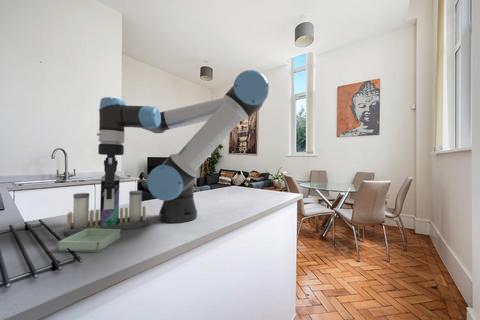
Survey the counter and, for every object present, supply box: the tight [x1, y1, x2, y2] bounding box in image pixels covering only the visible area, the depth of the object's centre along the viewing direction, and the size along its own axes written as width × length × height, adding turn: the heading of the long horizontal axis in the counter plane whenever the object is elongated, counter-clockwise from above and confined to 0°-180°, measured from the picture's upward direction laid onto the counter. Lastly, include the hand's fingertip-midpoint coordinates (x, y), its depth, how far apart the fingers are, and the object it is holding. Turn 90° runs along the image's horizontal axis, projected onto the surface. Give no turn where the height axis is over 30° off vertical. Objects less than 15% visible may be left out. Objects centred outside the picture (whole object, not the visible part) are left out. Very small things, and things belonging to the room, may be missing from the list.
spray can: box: [99, 173, 120, 226], centre depth 72 cm, size 6×6×20 cm
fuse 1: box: [72, 192, 90, 229], centre depth 68 cm, size 4×4×12 cm
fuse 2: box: [128, 190, 143, 223], centre depth 76 cm, size 4×4×12 cm
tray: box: [57, 227, 122, 253], centre depth 58 cm, size 10×10×2 cm
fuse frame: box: [63, 206, 148, 238], centre depth 72 cm, size 23×9×6 cm, turn 120°
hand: (109, 204), depth 72 cm, fingers open, 13 cm apart
